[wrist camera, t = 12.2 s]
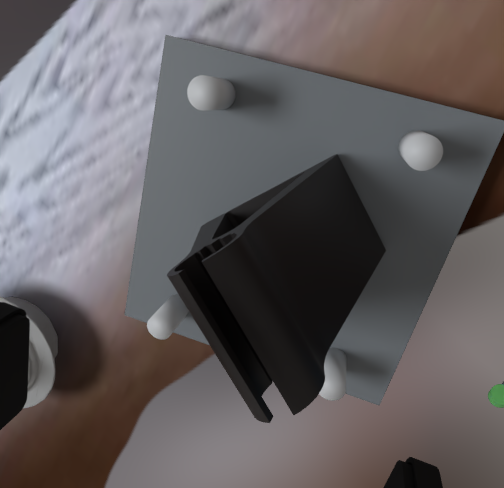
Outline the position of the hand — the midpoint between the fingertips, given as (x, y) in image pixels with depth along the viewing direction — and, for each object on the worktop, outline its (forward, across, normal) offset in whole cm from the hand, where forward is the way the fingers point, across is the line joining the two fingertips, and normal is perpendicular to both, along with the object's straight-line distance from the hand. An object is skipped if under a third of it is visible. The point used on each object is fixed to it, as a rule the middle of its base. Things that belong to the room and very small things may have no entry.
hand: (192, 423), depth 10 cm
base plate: (+17, +1, +1) cm, 17 cm away
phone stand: (+16, 0, 0) cm, 16 cm away
